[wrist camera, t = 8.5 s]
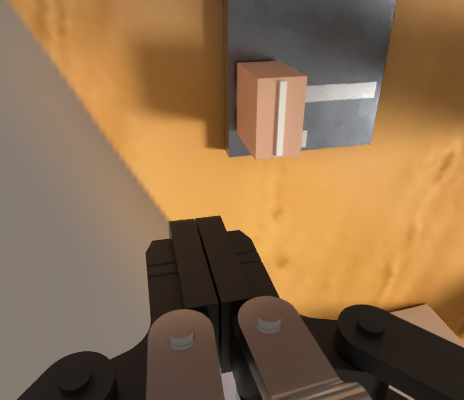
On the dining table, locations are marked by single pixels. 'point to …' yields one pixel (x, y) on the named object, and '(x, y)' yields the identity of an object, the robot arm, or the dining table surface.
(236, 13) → the console board
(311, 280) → the dining table surface
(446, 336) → the milk carton
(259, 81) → the fader terracotta
